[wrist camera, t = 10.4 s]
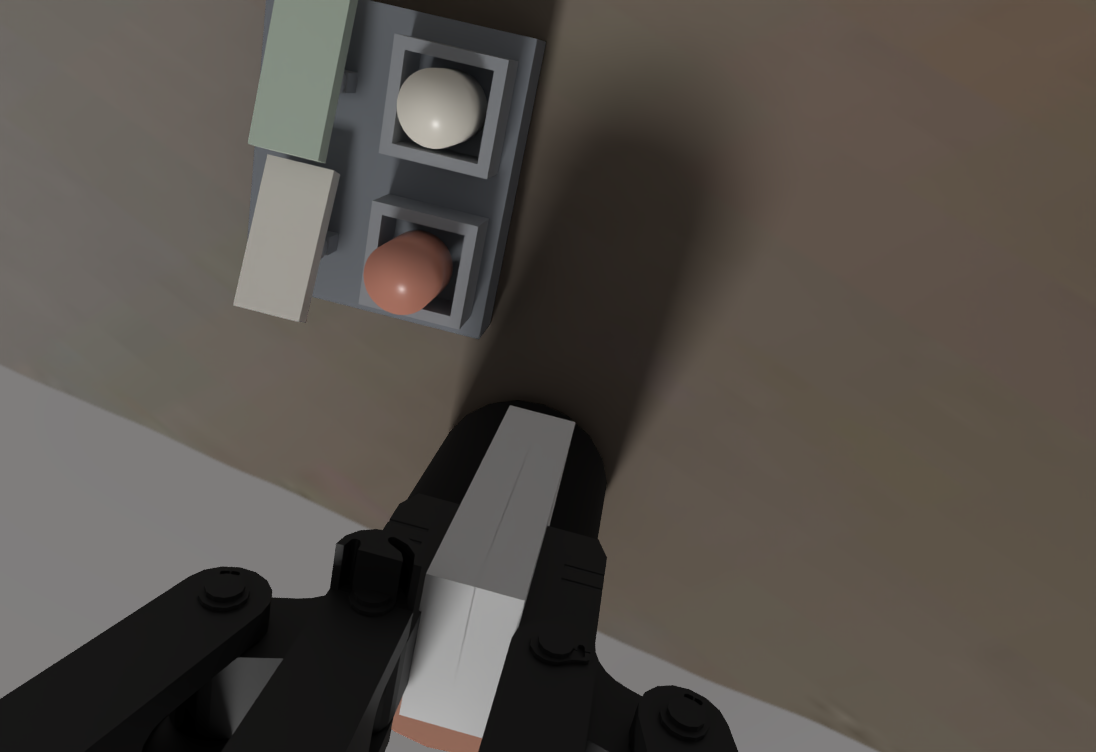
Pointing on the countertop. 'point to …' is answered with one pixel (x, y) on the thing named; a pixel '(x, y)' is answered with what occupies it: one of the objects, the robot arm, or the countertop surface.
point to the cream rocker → (286, 238)
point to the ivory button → (441, 107)
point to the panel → (422, 160)
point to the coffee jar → (450, 483)
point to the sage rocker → (302, 76)
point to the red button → (408, 272)
